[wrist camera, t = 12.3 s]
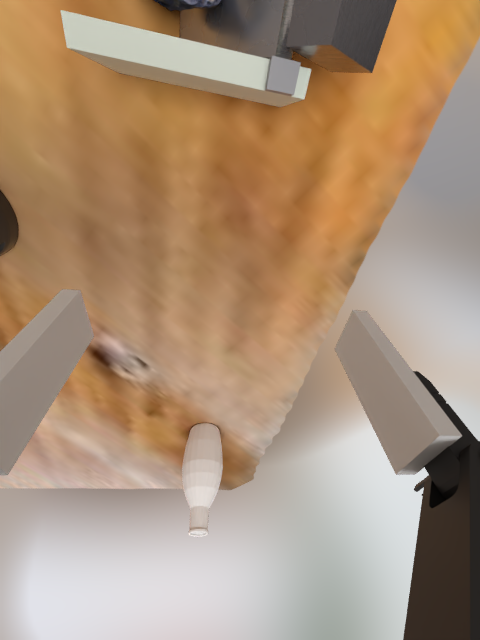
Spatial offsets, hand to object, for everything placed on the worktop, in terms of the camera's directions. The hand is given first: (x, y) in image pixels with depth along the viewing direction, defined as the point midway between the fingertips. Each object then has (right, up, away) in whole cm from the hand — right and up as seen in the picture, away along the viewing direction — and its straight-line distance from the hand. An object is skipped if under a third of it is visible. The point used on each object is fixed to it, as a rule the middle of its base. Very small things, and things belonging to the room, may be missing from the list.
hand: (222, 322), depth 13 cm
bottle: (-10, -34, +67) cm, 76 cm away
